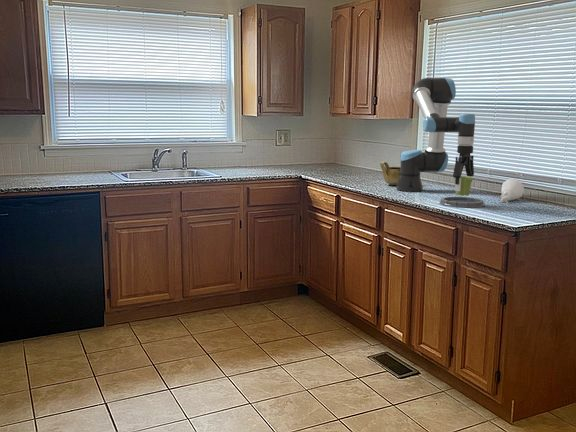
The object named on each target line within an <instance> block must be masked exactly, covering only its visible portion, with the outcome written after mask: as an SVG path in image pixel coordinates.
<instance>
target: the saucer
mask: <svg viewBox="0 0 576 432" xmlns="http://www.w3.org/2000/svg"><path fill="white" fill-rule="evenodd" d="M438 204H439V205H441V206H443V207H444V206H445V207H451V208H460V209H462V208H463V209H475V208H477V209H479V208H482V207H485V203H484V200H483V199H481V198H476V197H469V196H445V197H441V198H440V200H439V203H438Z"/></svg>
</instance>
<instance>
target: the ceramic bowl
mask: <svg viewBox="0 0 576 432" xmlns="http://www.w3.org/2000/svg"><path fill="white" fill-rule="evenodd" d="M379 165H380V168H381V171H382V178H383V180H384V181H385V182H386V183H387V184H388V185H390V186H392V185H396V186H395V187H397V184H398V181H399V178H400V166H389V164H388V162H387V161H381V162H380V164H379Z"/></svg>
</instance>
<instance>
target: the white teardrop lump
mask: <svg viewBox="0 0 576 432" xmlns="http://www.w3.org/2000/svg"><path fill="white" fill-rule="evenodd" d="M500 190H501V191H500V192H501V195H499V198H500V201H499V203H501V204H502V203H507V204H510V201H515V200H518V199H520V198H521V197H522V196H523V194H524V193H525V187H524V185H523V183H522V182H521V181H520V180H518V179H515V178H509V179H506V180H505V181H504V182H503V183H502V185H501V189H500Z"/></svg>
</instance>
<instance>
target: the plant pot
mask: <svg viewBox="0 0 576 432" xmlns="http://www.w3.org/2000/svg"><path fill="white" fill-rule="evenodd" d="M460 178H461V191H455V192H456V196H460V197H464V196H465V197H468V196H469V195H470V190H471V189H470V186H472V182H473V180H474V177H471V178H469V177H466V176H461V177H460ZM453 179H454V181H455V180H456V178H454V177H453Z"/></svg>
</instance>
